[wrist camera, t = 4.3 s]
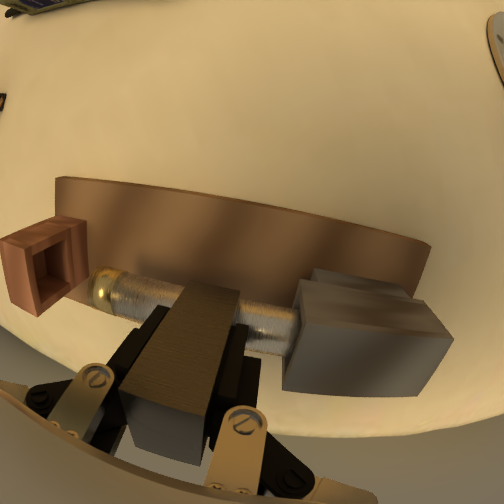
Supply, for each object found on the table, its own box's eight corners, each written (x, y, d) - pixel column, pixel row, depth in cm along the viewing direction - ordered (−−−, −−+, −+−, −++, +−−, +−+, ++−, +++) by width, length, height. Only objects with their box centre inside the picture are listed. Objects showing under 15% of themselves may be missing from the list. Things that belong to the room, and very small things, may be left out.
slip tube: (438, 312, 13) (507, 407, 5) (413, 358, 14) (459, 457, 7) (109, 249, 14) (2, 325, 6) (112, 303, 15) (31, 391, 7)
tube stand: (424, 242, 16) (487, 288, 9) (375, 358, 19) (399, 427, 12) (63, 176, 16) (-8, 193, 10) (69, 291, 20) (18, 333, 13)
